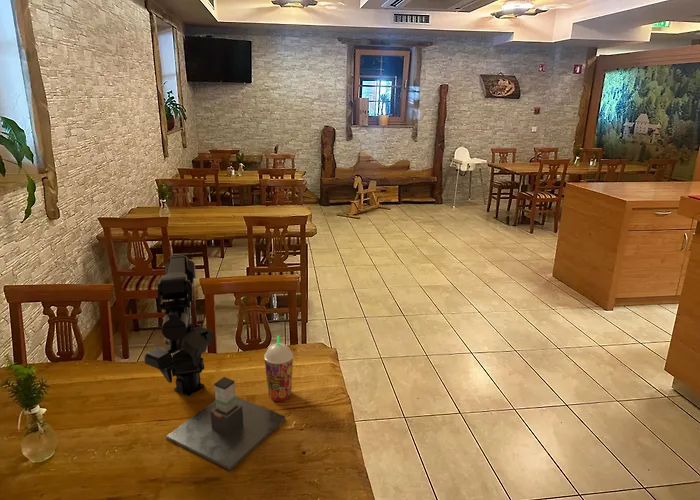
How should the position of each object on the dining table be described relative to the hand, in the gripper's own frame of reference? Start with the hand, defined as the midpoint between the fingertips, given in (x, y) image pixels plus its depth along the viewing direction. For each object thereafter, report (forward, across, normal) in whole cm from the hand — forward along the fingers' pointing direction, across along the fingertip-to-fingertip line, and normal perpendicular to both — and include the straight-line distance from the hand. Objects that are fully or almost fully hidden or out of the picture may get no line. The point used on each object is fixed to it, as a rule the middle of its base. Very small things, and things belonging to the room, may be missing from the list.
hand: (183, 374), depth 130 cm
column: (+8, +1, -14) cm, 16 cm away
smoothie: (+13, +20, -17) cm, 29 cm away
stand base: (+13, +1, -14) cm, 19 cm away
